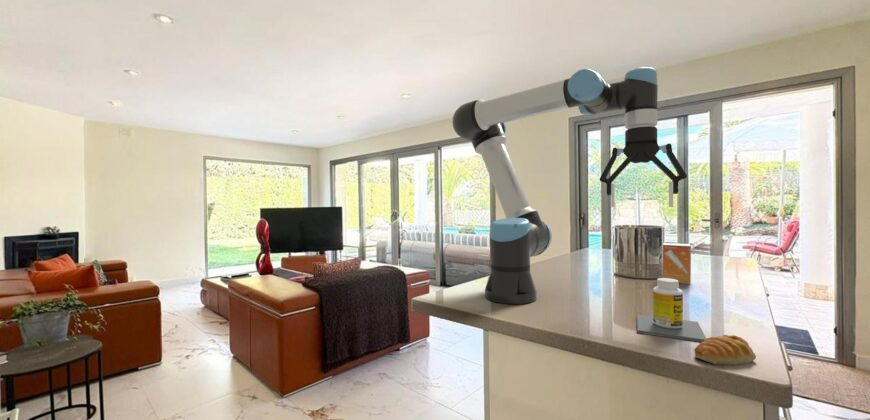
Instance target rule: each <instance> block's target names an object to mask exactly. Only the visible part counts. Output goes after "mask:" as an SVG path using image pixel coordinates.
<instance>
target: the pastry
mask: <svg viewBox="0 0 870 420" xmlns="http://www.w3.org/2000/svg"><path fill="white" fill-rule="evenodd" d="M694 355H695V356H694V357H695V359H696V358H697V359H700V360H701V361H702V360H703V361H705V362H709V363H711V364H713V365H715V366H716V365H729V366H737V365H745V364H749V363H752V362H754V361H755V360H756V358H757V355H756V353H755V352H754V350H753V348H752V347H751V346H750V345H749V342H748V341H747V340H746V339H744V338H742V337H740V336H737V335H735V334H734V335H728V334H723V335H722V336H709V337H706V340H705V341H703V342H699V344H698V345H697V346H696V347H695V348H694Z"/></svg>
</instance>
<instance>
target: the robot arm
mask: <svg viewBox="0 0 870 420" xmlns="http://www.w3.org/2000/svg"><path fill="white" fill-rule="evenodd" d="M657 77H658V74H657V70H656V68H653V67H649V66H648V67H646V66H644V67H642V66H641V67H637V68H634V69H631V70H629V71H627V72H626V73H625V75H624V79H623V80H621V81H616V82H611V83H607V82H606V81H605V80H604V78H603V77H602V76H601V74H599V73H598V72H596V71H595V70H593V69H590V68H582V69H579V70H577V71H575V72H574V73H573V74H572V75H571V76H570V78H565V79H563V80H558V81H555V82H551V83H548V84H544V85H540V86H537V87H533V88H530V89H525V90H522V91H518V92H515V93H511V94H508V95H504V96H500V97H497V98H493V99H492V98H491V99H489V100H485V99H482V98H481V99H475V100H472V101H469V102H466V103H464V104H462V105H460V106H459V107H458V108H457V109H456V111H455V112H454V113H453V116H452V127H453V130H454V132H455V134H456V135H458V136H459V137H460V138H461V139H464V140H467V141H471V144H472V147H473V150H474V152H475V153H476V154H479V155H481V157H482V159H483V163H484V165H485V168H486V169H487V172H488V175H489V178H490V179H491V182H492V183H491V184H492V185H493V188H494V190H495V192H496V196H497V198H498V200H499V203H500V205H501V208H502V210H503V212H504V215H505V218H500V219H495V220H494V221H492V222H491V224H490V226H489V229H490V230H489V245H490V246H489V253H490V254H489V257H490V258H489V259H490V272H489V276H488V278H487V281H486V284H485V288H484V297H485V299H486V300H489V301H491V302H494V303H499V304H509V305H520V304H521V305H522V304H523V305H524V304H529V303H533V302H535V301H537V296H538V295H537V292H538V291H537V288H536V284H535V282H534V280H533V279H534V278H533V276H532V274H531V273H532V272H531V258H532V257H536V256H539V255H541V254H543V253H544V252H545V251H547V250H548V249H549V248H550V246H551V243H552V231H551V228H550V227H549V225H548V224H547V223H545V222H544V221H542V219H541V216H540V215H539V211H538V210H537V209H534V208H532V207H531V206H530V203H529V201H528V200H529V199H527V196H526V193H525V191H524V189H523V186H522V184H521V181H520V179H519V177H518V175H517V172H516V170H515V167H514V164H513V162H512V160H511V157H510V155H509V152H508V151H507V148H506V141H507V136H506V134H505V133H506V132H507V127H506V123H507V122H513V121H517V120H522V119H526V118H531V117H535V116H539V115H543V114H548V113H552V112H557V111H561V110H565V109H570V108H575V107H578V110H579V112H580V114H582V115H584V116H585V115H596V114H600V113H606V112H612V111H613V112H614V111H619V110H625V111H624V128H625V129H626V130H625V132H624V137H625V138H624V147H623V148H617V147H613V148H612V152H611V156H610V158H609V160H608V162H607V164H606V166H605V168H604V169H603V172H602V174H601V175H600V177H599V182H601V183H605V184H606V195H607V196H610V205H611V206H610V207H611V208H615V207H616V205H615V204H616V203H615V202H616V200H615V197H616V196H615V193H616V190H615V189H616V188H615V183H613V182H614V180H616V179H617V178H618V177H619V175H620V174H621V173H622V172H623V171H624V170H625V169H626V167H628V166H629V164H630V163H632V164H640V163H643V164H648V163H650V162H652V163H653V164H654V165H655V166H657V168H659V170H661V172H663V173H664V175H666V176H667V177H668V178H669V179H670V180H671V181H668V207H669V208H673V207H674V195H677V194H679V182H680V181H681V180H684V179H687V178H688V175H687V173H686V170H685V169H684V168H683V167H682V165H681V163H680V162H679V159H678V158H677V157H676V155H675V154H674V152H673V146H672V143H667V144H663V145H659V144H658V128H657V127H656V126H657V125H658V87H659V85H658V78H657ZM659 151H662V154H666V156H667V158H668V159H669V161H670V164H671V165H672V166H673V167H674V170H675V171H676V173H677V174H678V175H676V174H675V173H674V171H672V170H671V169H670V168H669V167H667V166H666V164H665V163H663V162H662V160H660V158H658V156H656V155H657V154H658V152H659ZM621 154H624V155H625V157H626V158H625V159H624V160H623V162H622V163H621V164H620V165H619V166H618V168H617V169H616V170H614V172H613V173H612V174H610V177H608V175H609V173H610V172H611V169H612V168H613V165H614V164H615V162H616V160H617V158H618V157H619V156H621ZM607 177H608V178H607Z"/></svg>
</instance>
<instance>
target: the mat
mask: <svg viewBox="0 0 870 420" xmlns="http://www.w3.org/2000/svg"><path fill="white" fill-rule="evenodd" d="M636 317H637V318H636V320H637V321H636V322H637V326H636V327H637V334H642V335H649V336H657V337H664V338H669V339H670V338H672V339H677V338H679V339H678V340H685V341H691V342H699V343H701V342H703V341H705V340H706V339H707V337H706V335H705V333H704V331H703V329H702V327H701V326H700V324H699V322H698V321H695V320H694V321H693V320H686V319H683V326H682V327H681V328H679V329H668V328H663V327H660V326H657V325H655V324H654V322H653V315H646V314H645V315H644V314H636Z"/></svg>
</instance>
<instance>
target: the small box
mask: <svg viewBox="0 0 870 420" xmlns="http://www.w3.org/2000/svg"><path fill="white" fill-rule="evenodd" d="M691 258H692V246H691V244H690V243H677V242H676V243H675V242H674V243H671V242H670V243H668V242H667V243H666V242H663V243H662V278H670V279H676V280H678V283H679V284H685V285H691V283H692V281H691V278H692V277H691V276H692V271H691V270H692V269H691V268H692V262H691V261H692V259H691Z"/></svg>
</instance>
